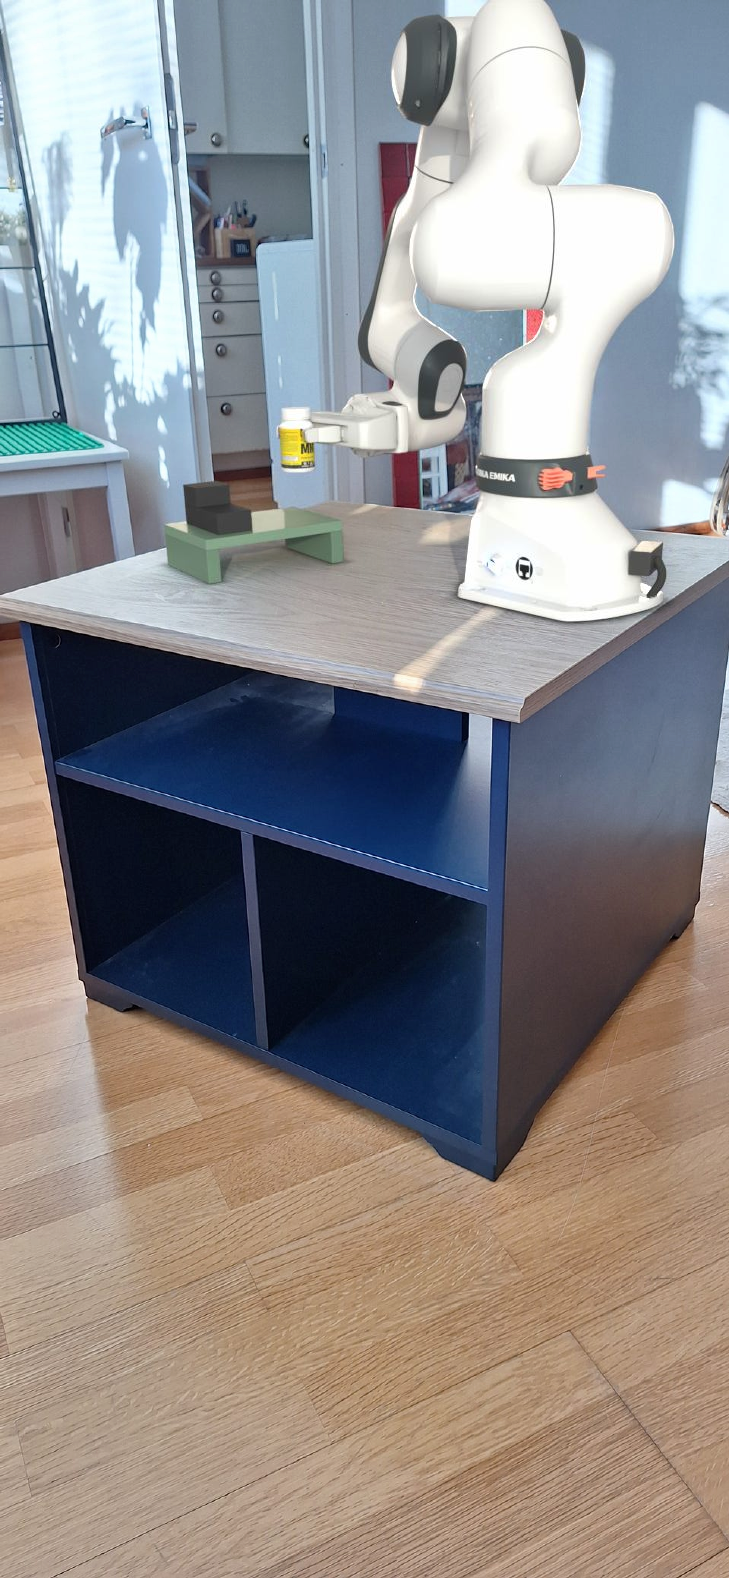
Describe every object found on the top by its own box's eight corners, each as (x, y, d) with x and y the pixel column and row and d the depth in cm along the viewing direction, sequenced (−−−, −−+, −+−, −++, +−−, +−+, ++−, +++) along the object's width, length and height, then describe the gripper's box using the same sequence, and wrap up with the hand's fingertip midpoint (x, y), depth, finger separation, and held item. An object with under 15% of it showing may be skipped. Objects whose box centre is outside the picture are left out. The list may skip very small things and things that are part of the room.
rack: (343, 561, 136) (342, 520, 134) (209, 583, 127) (205, 540, 125) (295, 545, 145) (294, 506, 143) (167, 565, 137) (163, 524, 135)
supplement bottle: (305, 474, 153) (302, 410, 150) (275, 473, 155) (271, 409, 152) (321, 469, 157) (318, 406, 154) (292, 468, 159) (288, 406, 156)
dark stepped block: (252, 530, 130) (250, 490, 128) (218, 535, 128) (215, 494, 126) (219, 519, 137) (216, 480, 135) (186, 523, 135) (182, 484, 133)
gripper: (326, 398, 167) (248, 406, 160) (414, 406, 153) (334, 414, 145) (328, 442, 170) (252, 452, 162) (415, 453, 155) (336, 464, 148)
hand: (291, 434), depth 154 cm, fingers closed on supplement bottle, 5 cm apart
